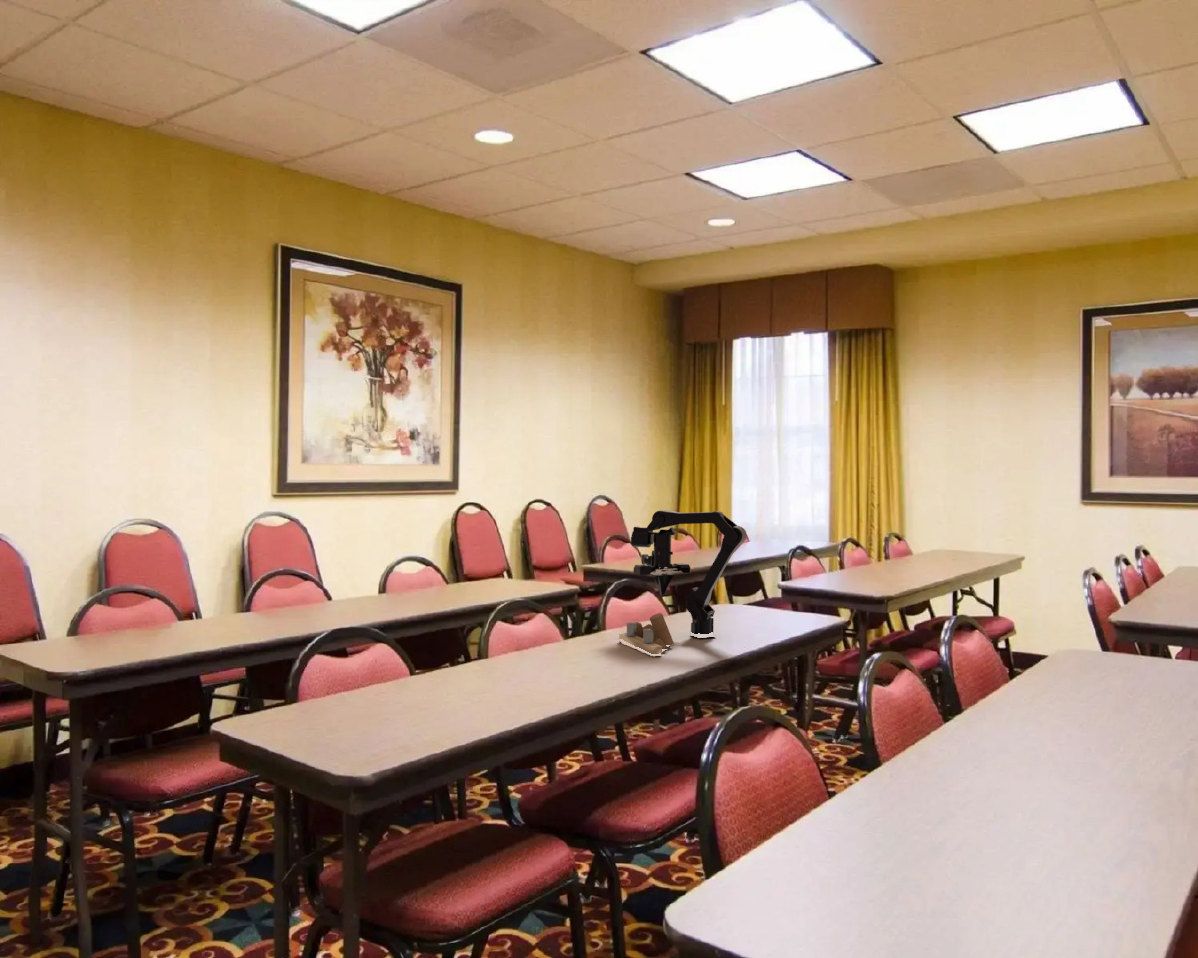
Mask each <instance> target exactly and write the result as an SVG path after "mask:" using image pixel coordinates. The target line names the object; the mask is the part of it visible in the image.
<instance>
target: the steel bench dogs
mask: <svg viewBox="0 0 1198 958" xmlns="http://www.w3.org/2000/svg"><path fill="white" fill-rule="evenodd" d="M626 633H627V637H636V622H627V623H626ZM643 643H644V644H653V629H643Z"/></svg>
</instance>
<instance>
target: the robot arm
mask: <svg viewBox="0 0 1198 958" xmlns="http://www.w3.org/2000/svg"><path fill="white" fill-rule="evenodd" d="M689 524H690V525H692V524H713V525H714V526H715V527H716V529H717V530H718V531H719V532H720V533H721V534H722V535H723V538H722V541H721V546H720V550H719V552H718V553H717V555H716V556H715V559H714V561H713V563H712V564H711V566H710V568H709V569H708V571H707V574H706V575H705V577H704V578H703V581H702V582H701V584H700V586H699V587H697V586H696V587H693V588H692V589H690V593H689V595H688V596H687V597H686V599H685V601H686V604H685V607H686V610H687V611H688V613H689V614H690V616H691V618H692V620H691V621H692V622H691V623H690V633H691V632H692V633H694V634H698V633H700V634H709V633H711V632H713V633H714V618H713V617H714V616H715V612H716V611H715V609H714V608H712V606H711V605H710V601H711V598H712V593H713V590H714V588H715V586H716V585H717V583H718V581H719V579H720V577H721V575H723V572H724V570H725V568H727V567H726V566H727V565H728V563H729V562H730V559H731V558H732V556H733V555H734V553H736V551H737V550H738V549H739V548H740V547H741V546H742V545H743V544H744V543H745V541H746V539H747V537H748V534H747V531H746V529H745V528H744V527H742V526H741V525H740V526H739V525H737V524H736V523H735V522H734V521H732V520H731V519H730V518H729V517H727V516H726V515H725V514H724V513H723V512H722V511H721V510H715V511H705V512H704V511H702V512H701V511H700V512H679V511H674V510H673V511H672V510H668V509H663V510H657V511H655V512H654V513H653V515H652V517H651V521H650V522H649V524H648V525H647V526H646V527H645V526H644V527H641V526H634V527H633V528H632V529H633V530H632V531H631V532H632V533H631V536H630V543H631V546H632V547H633V548H650V547H651V546H652V545H653V550H652V551H651V555H649V554H645V553H644V554H641V558H640V562H641V564H634V567H633V574H635V575H638V576H639V575H640V576H645V575H646V576H650V577H652V578H653V579H654V581H655V583H656V585H657V586H656V587H657V588H658V592H659V595H660V596H664V595H665V593H666V591H667V589H668V586H669V584H670V583H671V580H672V579H673V577H676V573H674V572H680V573H682V574H691V569H692V568H691V565H690V564H687V563H684V562H682V563H680V562H679V563H672V556H673V555H674V553H673V551H672V536H675V535H678V532H677V531H676V530H675V529H674V528H673V527H674V526H678V525H689ZM672 526H673V527H672ZM668 527H669V529H664V528H668ZM658 530H659V531H658Z"/></svg>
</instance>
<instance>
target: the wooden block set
mask: <svg viewBox="0 0 1198 958" xmlns="http://www.w3.org/2000/svg"><path fill="white" fill-rule="evenodd" d="M649 622H650V623H648V624H646V625H645V626H643V625H642V623H641V622H638V621H637V622H635V623H636V636H637V637H640V638H642V639H643V629H653V643H655V644H657V645H660V646H662V649H668V650H669V648H667V646H666V645H672V644H673V645H674V644H675V643H674V640H673V637H672V634H671V633H670V629H669V627H668V625H667V622H666V620H665V617H664V614H663V613H661V612H658V613H655V614H654V615H652V616H650V617H649ZM673 645H672V646H673Z"/></svg>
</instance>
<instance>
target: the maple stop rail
mask: <svg viewBox="0 0 1198 958" xmlns="http://www.w3.org/2000/svg"><path fill="white" fill-rule="evenodd" d="M618 635H619V636H618V640H619V639H623V640H624V641H626V642H628V643H630V644H632V645H634V646H635V647H639V648H641V649H643V650H645V651H647V652H649V653H651V654H659V653H662V646H660V645H657V644H655V643H653V644H644V643H643V639H642V638H640V637H637V636H636V637H627V632H619V633H618ZM662 654H663V653H662Z"/></svg>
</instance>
